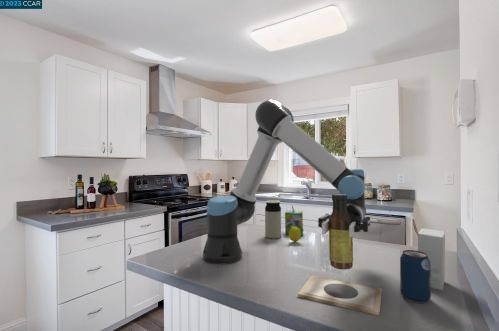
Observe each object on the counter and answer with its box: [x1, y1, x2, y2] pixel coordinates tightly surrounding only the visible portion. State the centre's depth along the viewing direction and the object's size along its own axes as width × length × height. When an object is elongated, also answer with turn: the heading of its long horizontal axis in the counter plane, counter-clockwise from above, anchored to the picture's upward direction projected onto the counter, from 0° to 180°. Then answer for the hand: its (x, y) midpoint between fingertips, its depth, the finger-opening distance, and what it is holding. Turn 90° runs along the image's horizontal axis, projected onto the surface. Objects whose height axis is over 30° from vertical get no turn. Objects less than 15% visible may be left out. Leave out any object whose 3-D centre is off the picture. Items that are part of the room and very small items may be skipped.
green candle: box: [284, 204, 304, 236], centre depth 144 cm, size 9×9×15 cm
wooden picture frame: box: [297, 275, 383, 316], centre depth 75 cm, size 20×14×1 cm
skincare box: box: [417, 227, 446, 291], centre depth 82 cm, size 8×7×16 cm
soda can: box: [399, 249, 432, 304], centre depth 73 cm, size 7×7×12 cm
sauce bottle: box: [328, 193, 354, 270], centre depth 75 cm, size 7×6×20 cm
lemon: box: [286, 223, 304, 243], centre depth 126 cm, size 7×6×10 cm
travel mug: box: [264, 199, 282, 240], centre depth 137 cm, size 8×8×18 cm
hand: (336, 230), depth 71 cm, fingers closed on sauce bottle, 6 cm apart
